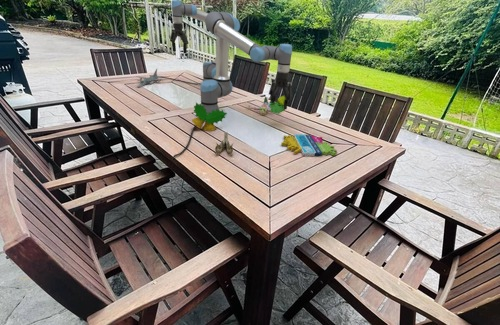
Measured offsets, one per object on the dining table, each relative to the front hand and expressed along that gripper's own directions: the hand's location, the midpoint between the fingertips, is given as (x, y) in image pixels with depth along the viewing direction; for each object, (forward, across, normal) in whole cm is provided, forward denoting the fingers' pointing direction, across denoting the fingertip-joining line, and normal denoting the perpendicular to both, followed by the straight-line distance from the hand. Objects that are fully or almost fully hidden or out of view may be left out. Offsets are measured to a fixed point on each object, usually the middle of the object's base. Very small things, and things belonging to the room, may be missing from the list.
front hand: (278, 107), depth 170 cm
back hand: (-22, -103, +5) cm, 105 cm away
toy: (+13, -25, +23) cm, 36 cm away
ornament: (+13, -28, -36) cm, 47 cm away
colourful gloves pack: (+13, +30, -15) cm, 36 cm away
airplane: (+12, -151, +5) cm, 151 cm away
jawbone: (+13, 0, -53) cm, 55 cm away
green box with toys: (+3, 0, 0) cm, 3 cm away
